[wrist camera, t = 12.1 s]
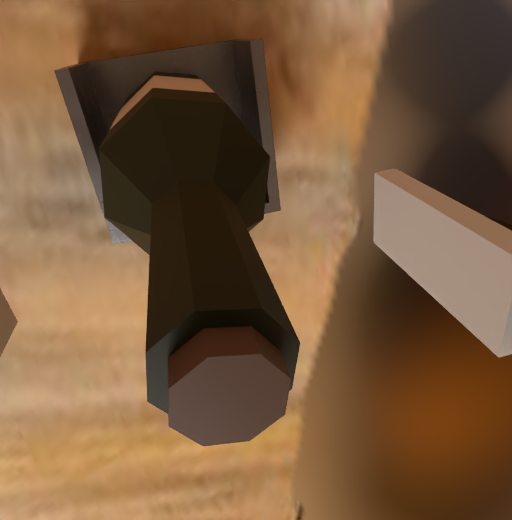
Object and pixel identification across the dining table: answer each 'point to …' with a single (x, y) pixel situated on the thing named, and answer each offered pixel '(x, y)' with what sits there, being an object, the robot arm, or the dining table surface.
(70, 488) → the dining table surface
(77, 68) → the bottle rest
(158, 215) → the wine bottle
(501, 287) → the robot arm
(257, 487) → the dining table surface
